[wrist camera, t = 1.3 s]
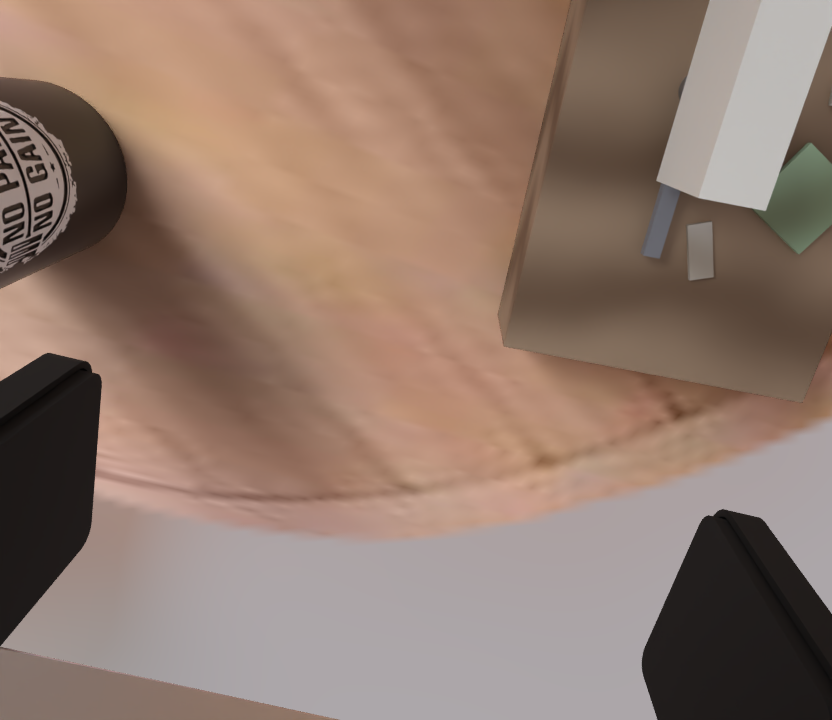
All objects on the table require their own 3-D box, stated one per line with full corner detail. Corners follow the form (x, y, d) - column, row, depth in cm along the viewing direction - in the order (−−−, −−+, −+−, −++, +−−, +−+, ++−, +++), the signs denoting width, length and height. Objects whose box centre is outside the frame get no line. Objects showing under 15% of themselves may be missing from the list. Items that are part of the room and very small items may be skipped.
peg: (697, -13, 26) (778, -50, 20) (754, -2, 26) (853, -35, 20) (621, 248, 30) (668, 290, 23) (672, 258, 30) (732, 303, 23)
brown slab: (601, -130, 30) (630, -176, 25) (923, -66, 30) (1016, -99, 25) (497, 314, 37) (504, 348, 32) (758, 364, 37) (805, 405, 32)
